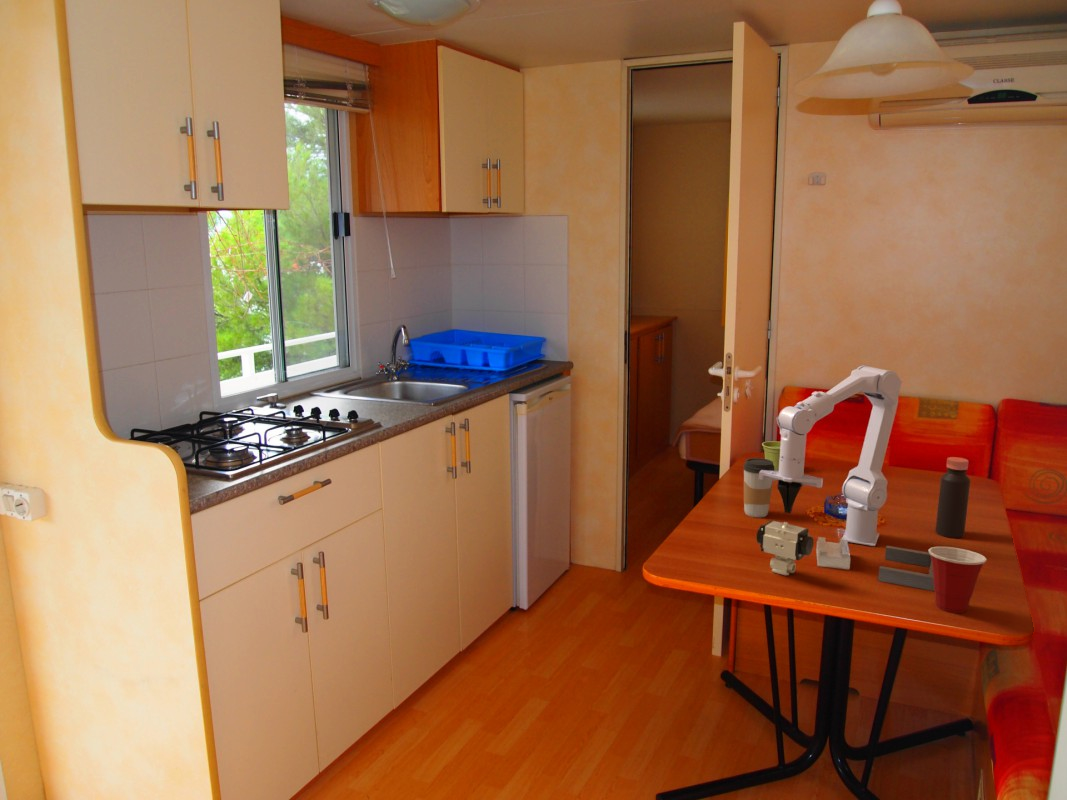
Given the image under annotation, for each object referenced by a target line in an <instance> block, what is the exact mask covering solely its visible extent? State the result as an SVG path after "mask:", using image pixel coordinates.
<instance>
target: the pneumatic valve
mask: <svg viewBox="0 0 1067 800" xmlns="http://www.w3.org/2000/svg"><path fill="white" fill-rule="evenodd" d="M809 530H810V529H809V528H806V527H802V526H797V525H793V524H789V522H788V521H784V522H780V521H775V520H769V521H768V522H767V523H766V522H765V524H761V525H760V526H759V527H758V529H757V533H756V543H757V544H759V545H760V546H759V547H760V548H761V549H760V550H761V552H764V553H768V554H771V555H774V556H775V557H771V559H770V560H769V561H770V563H769V567H770V568H771V572H772V573H774V574H777V575H783V576H786V577H787V576H789V575H790V574H794V573H795V571H796V567H797V566H796V563H795V561H800V560H801V559H803V558H804V557H806V556H807V557H808V556H810V554H811V553H812V551H813V548H814V537H813V536H810V533H809Z"/></svg>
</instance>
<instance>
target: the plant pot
mask: <svg viewBox="0 0 1067 800" xmlns="http://www.w3.org/2000/svg"><path fill="white" fill-rule="evenodd" d="M761 445H762V447H763V451H764V459H767V460H771V461H772V462H773V465H774V467H775V468H774V470H775V471H779V460H780V445H781V441H775V440H773V441H771V440H770V441H764V442H762V443H761Z"/></svg>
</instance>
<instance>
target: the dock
mask: <svg viewBox="0 0 1067 800" xmlns="http://www.w3.org/2000/svg"><path fill="white" fill-rule="evenodd" d="M884 556H885V557H884V560H885V561H892V562H896V563H897V562H898V563H903V564H909V565H915V566H919V567H920V566H921V567H927V568H929V571H928V573H922V572H918V571H917V572H916V571H912V570H911V571H910V570H906V569H899V568H893V567H890V566H889V567H887V566H882V565H880V566H879V568H878V578H877V580H878V582H883V583H889V584H893V585H897V586H898V585H899V586H902V587H903V586H904V587H910V588H913V589H919V590H926V591H931V592H935V590H934V580H933V567H932V560H931V556H930V553H929V551H921V550H915V549H908V548H903V547H897V546H891V545H886V546H885V553H884Z"/></svg>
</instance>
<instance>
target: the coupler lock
mask: <svg viewBox="0 0 1067 800" xmlns="http://www.w3.org/2000/svg"><path fill="white" fill-rule="evenodd" d="M815 552H816V561H817V564H816V565H817V567H823V568H832V569H839V570H850V568H851V554H850V548H849V542H847V540H843V539H842V538H840V539H839V542H832V541H826V537H821V536H818V537H817V541H816V551H815Z"/></svg>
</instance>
